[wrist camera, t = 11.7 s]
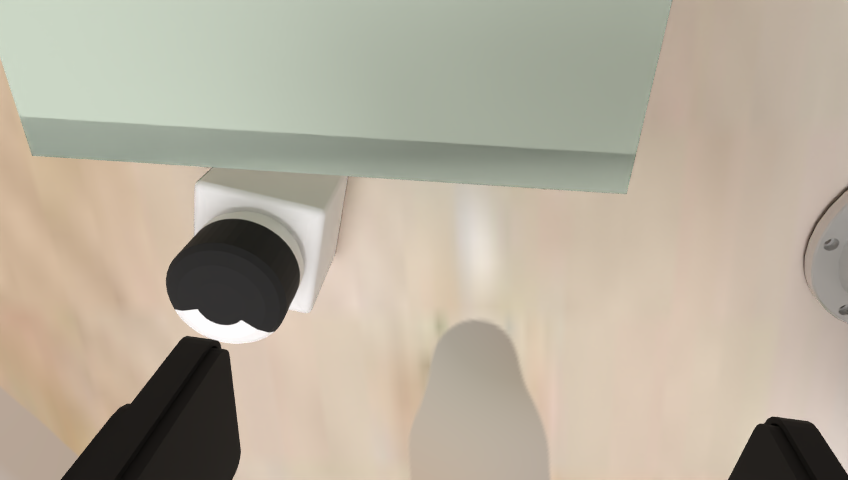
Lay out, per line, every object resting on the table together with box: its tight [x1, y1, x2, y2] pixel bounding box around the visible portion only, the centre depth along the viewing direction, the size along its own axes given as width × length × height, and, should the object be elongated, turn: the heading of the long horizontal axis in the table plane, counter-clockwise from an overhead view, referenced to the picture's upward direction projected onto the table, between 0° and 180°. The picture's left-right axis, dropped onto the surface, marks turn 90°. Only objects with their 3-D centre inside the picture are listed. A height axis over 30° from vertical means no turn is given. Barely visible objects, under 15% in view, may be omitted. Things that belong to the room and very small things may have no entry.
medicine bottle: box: [166, 167, 348, 344], centre depth 32 cm, size 7×7×12 cm
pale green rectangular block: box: [0, 0, 672, 194], centre depth 25 cm, size 22×7×14 cm, turn 88°
